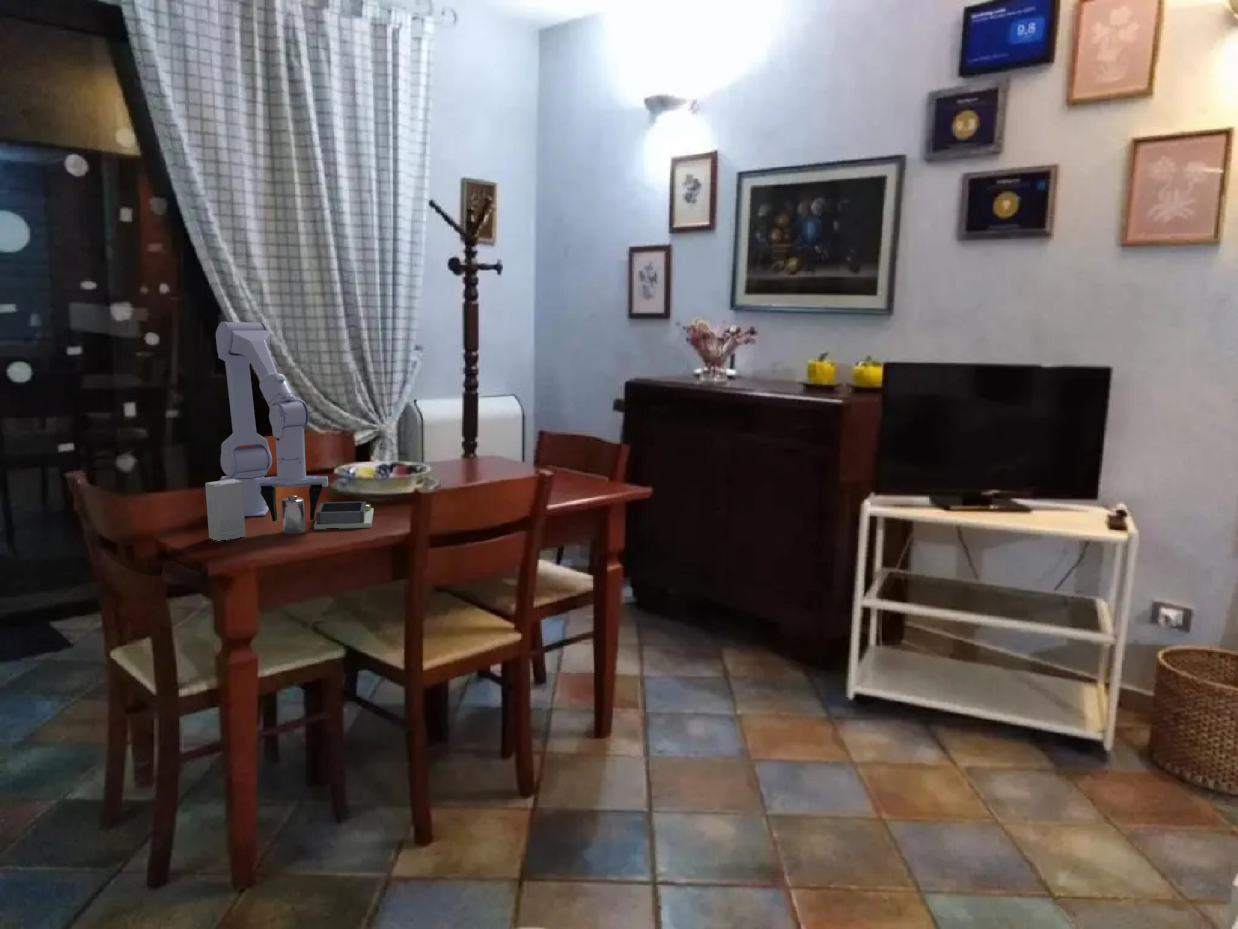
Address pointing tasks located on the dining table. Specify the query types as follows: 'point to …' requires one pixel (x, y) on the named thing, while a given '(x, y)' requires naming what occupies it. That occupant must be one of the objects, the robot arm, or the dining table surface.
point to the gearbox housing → (344, 515)
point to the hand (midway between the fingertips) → (293, 519)
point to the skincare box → (225, 509)
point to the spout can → (293, 515)
